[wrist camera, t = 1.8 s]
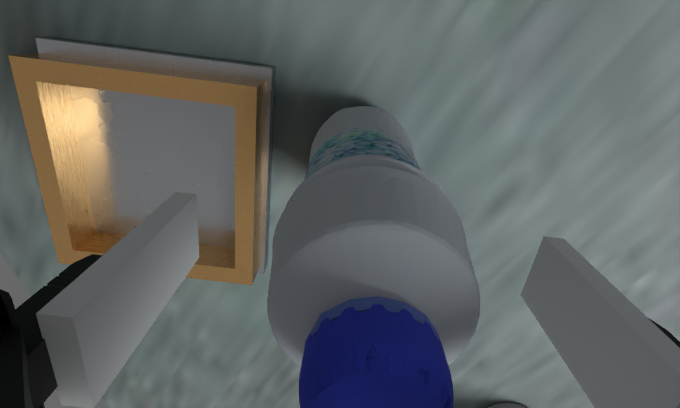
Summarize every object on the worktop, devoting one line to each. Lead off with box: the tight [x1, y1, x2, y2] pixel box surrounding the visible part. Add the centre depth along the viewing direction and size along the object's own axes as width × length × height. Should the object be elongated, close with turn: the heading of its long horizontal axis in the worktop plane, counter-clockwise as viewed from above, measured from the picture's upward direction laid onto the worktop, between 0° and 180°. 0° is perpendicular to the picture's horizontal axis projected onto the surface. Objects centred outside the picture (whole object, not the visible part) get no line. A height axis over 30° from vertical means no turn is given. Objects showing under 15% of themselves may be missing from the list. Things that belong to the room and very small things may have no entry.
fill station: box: [8, 38, 276, 285], centre depth 25 cm, size 15×14×4 cm
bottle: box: [267, 106, 480, 408], centre depth 16 cm, size 7×7×20 cm
